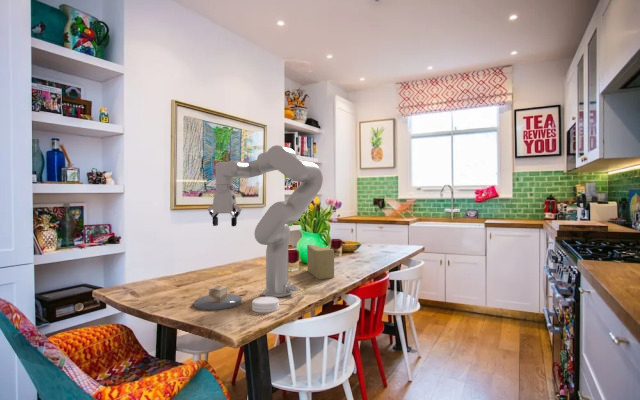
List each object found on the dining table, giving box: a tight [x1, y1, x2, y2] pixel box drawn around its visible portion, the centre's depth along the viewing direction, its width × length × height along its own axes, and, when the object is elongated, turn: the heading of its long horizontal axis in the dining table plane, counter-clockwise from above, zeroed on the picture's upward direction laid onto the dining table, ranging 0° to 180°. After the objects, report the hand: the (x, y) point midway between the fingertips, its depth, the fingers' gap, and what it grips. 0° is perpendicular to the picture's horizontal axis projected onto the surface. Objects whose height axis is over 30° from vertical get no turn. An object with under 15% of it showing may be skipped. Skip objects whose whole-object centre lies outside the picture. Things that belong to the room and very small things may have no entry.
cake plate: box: [193, 293, 243, 311], centre depth 143 cm, size 18×18×1 cm
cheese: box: [306, 244, 335, 280], centre depth 192 cm, size 22×10×15 cm, turn 26°
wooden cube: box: [208, 285, 228, 302], centre depth 142 cm, size 5×5×5 cm
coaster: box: [251, 296, 280, 314], centre depth 135 cm, size 10×10×4 cm
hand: (224, 225), depth 167 cm, fingers open, 9 cm apart
